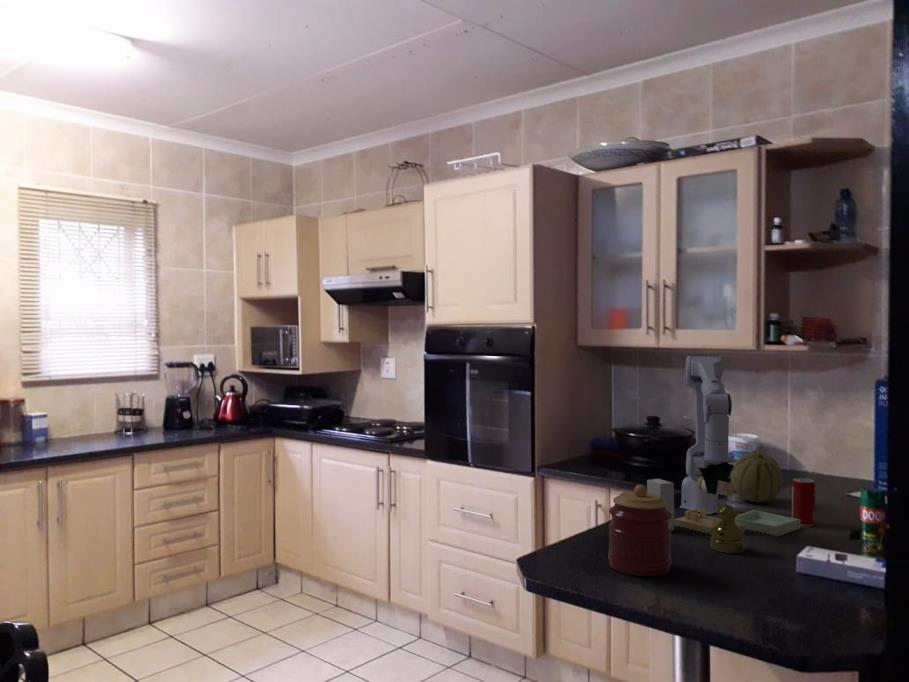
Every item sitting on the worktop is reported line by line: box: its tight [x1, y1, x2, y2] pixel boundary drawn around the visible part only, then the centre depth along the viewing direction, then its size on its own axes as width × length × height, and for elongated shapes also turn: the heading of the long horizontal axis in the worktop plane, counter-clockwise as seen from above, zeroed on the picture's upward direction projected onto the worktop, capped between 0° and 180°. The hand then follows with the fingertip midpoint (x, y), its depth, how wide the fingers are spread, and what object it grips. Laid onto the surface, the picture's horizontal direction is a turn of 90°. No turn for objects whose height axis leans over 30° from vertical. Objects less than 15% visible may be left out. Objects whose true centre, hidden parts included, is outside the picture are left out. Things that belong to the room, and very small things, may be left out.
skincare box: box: [646, 478, 675, 531], centre depth 178 cm, size 6×4×12 cm
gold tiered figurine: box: [709, 505, 745, 554], centre depth 161 cm, size 7×7×10 cm
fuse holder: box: [674, 508, 746, 535], centre depth 179 cm, size 14×10×4 cm
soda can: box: [791, 477, 816, 527], centre depth 184 cm, size 6×6×12 cm
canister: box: [607, 484, 673, 577], centre depth 148 cm, size 13×13×18 cm
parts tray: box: [735, 509, 801, 537], centre depth 181 cm, size 13×13×2 cm
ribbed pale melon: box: [730, 452, 784, 503], centre depth 208 cm, size 15×15×15 cm
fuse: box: [697, 477, 736, 498], centre depth 179 cm, size 8×4×4 cm, turn 39°
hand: (715, 492), depth 179 cm, fingers closed on fuse, 3 cm apart
